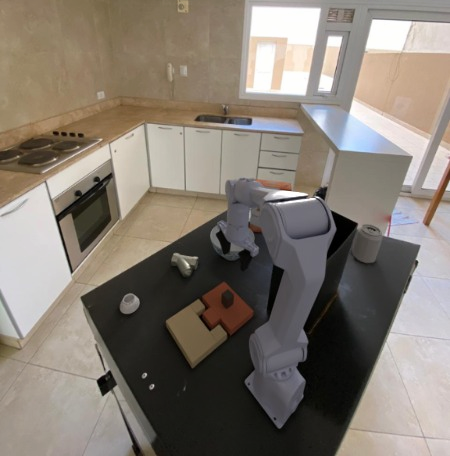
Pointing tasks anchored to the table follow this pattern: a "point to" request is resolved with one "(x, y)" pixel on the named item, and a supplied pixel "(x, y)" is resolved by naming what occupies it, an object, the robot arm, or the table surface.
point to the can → (367, 243)
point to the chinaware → (234, 248)
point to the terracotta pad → (225, 309)
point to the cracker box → (256, 211)
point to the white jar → (129, 304)
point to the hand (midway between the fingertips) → (234, 260)
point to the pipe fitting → (184, 263)
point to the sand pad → (194, 333)
